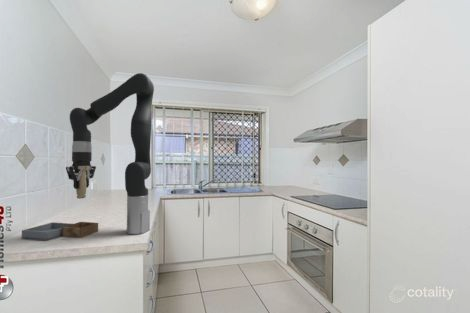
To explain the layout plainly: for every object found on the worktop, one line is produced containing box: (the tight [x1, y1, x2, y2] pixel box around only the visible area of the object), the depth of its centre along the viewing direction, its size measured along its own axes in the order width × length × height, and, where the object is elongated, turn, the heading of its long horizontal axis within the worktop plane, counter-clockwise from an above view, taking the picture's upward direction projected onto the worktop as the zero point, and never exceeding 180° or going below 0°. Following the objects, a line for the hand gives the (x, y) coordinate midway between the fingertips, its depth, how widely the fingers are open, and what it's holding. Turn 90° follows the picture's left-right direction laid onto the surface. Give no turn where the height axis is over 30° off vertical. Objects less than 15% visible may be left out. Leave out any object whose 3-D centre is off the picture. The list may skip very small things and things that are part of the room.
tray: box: [21, 221, 72, 242], centre depth 99 cm, size 14×13×4 cm
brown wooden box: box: [61, 221, 99, 239], centre depth 100 cm, size 10×9×4 cm
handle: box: [75, 166, 90, 200], centre depth 101 cm, size 5×6×15 cm
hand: (81, 187), depth 101 cm, fingers closed on handle, 4 cm apart
